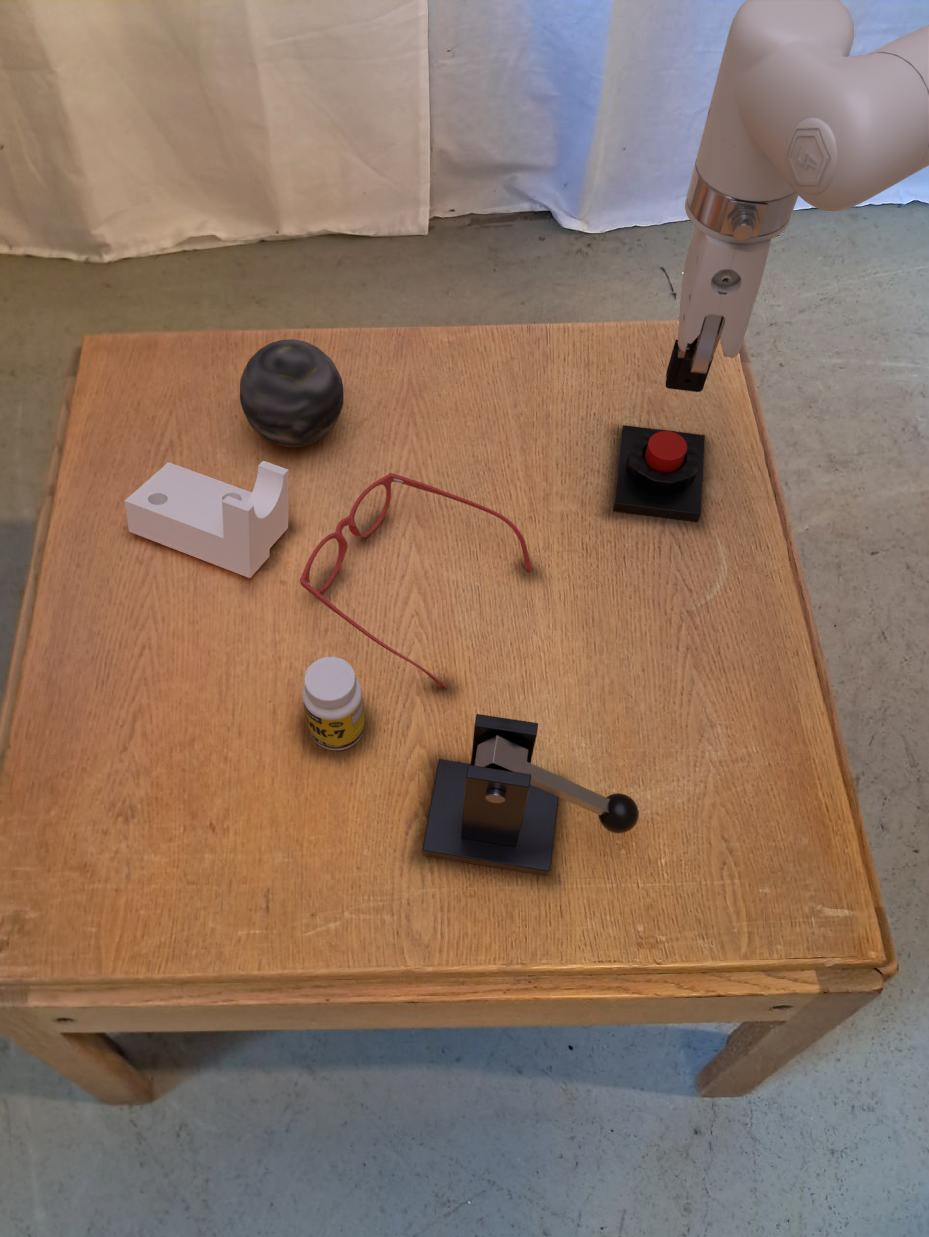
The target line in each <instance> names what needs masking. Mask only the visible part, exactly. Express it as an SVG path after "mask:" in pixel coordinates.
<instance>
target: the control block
mask: <svg viewBox="0 0 929 1237" xmlns="http://www.w3.org/2000/svg"><path fill="white" fill-rule="evenodd" d="M661 431H670V432H674V433H677V434H678V435H680V436H681V437H682V438H683V439H684V440H685V442H686V444H687V451H686V454H685V457H684V460H683V463H682V465H681V466H680V468H678V469H677V470H675V471H673V472H659V471H656V470H654V469H652V468H651V467H650V466H649V465H648V464H647V462H646V460H645V453H646V449H647V445H648V442H649V439H650V438H651V436H652V435H654V434H655V433H658V432H661ZM705 440H706V434H699V433H692V432H685V431H684V432H682V431H676V430H669V429H661V428H660V429H659V428H650V427H644V426H643V427H642V426H633V425H627V424H623V425H622V427H621V432H620V440H619V448H618V449H619V450H618V458H617V469H616V478H615V488H614V497H613V507H612V512H618V513H623V514H624V513H625V514H633V515H640V516H648V517H656V518H664V519H670V520H677V521H685V522H695V523H698V522H699V520H700V517H701V514H702V498H703V477H704V459H705V442H706V441H705Z"/></svg>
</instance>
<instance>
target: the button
mask: <svg viewBox="0 0 929 1237" xmlns="http://www.w3.org/2000/svg"><path fill="white" fill-rule="evenodd" d="M670 431H671V430H669V431H661V432H658V433H655V434H654V435H652V436H651V438H650V439H649V442H648V445H647V449H646V453H645V460H646V462H647V464H648V465H649V466H650V467H651V468H652V469H654V470H656V471H659V472H673V471H675V470H677V469H678V468H680V466H681V465H682V463H683V460H684V457H685V454H686V451H687V444H686V442H685V440H684V439H683V438H682V437H681V436H680V435H678V434H677V433H674V432H670Z"/></svg>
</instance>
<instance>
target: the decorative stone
mask: <svg viewBox="0 0 929 1237" xmlns="http://www.w3.org/2000/svg"><path fill="white" fill-rule="evenodd" d="M340 374H341V373H340V372H339V370H338V369H337V366H336V364H335V363H334V361H333V360H332V358H331V357H329V355H328V354H326V353H325V351H323V350H322V349H321V348H319V347H318V346H316V345H314V344H312V343H309V342H307V341H305V340H301V339H300V340H299V339H295V338H292V339H280V340H275V341H273V342H269V343H268V344H266V345H264V346H262V347H260V349H258V350H257V351H256V352H255V353H254V355H252V356H251V357H250V358H249V360H248V361H247V363H246V365H245V367H244V369H243V372H242V374H241V377H240V382H239V402H240V406H241V409H242V411H243V414H244V416H245V418H246V420H247V422H248V424H249V425H250V427H251V428H253V430H254V431H255V432H256V433H257V434H258V435H259V436H261V438H263V439H264V440H266V441H268V442H270V443H272V444H274V445H276V446H281V447H287V448H301V447H306V446H309V445H313V444H314V443H316V442H318V441H320V440H321V439H323V438H325V437H326V436H327V435H328V433H329V432H330V431H331V430H332V429H333V428H334V427H335V425H337V422H338V420H339V418H340V415H341V413H342V410H343V406H344V382H343V379H342V376H341V375H340Z"/></svg>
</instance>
